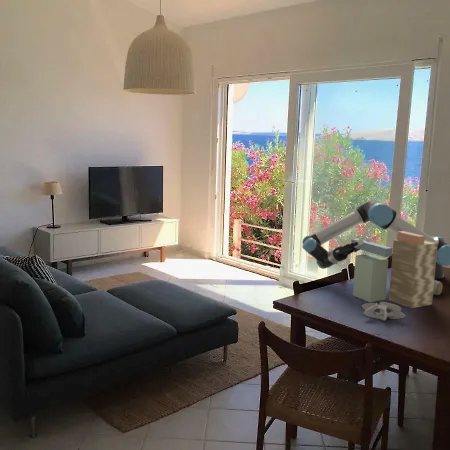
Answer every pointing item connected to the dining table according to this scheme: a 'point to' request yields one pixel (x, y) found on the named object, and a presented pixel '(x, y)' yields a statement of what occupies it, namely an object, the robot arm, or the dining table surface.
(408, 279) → the birch stand
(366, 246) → the slate bar
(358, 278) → the pale green pillar
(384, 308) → the sculpture
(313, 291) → the dining table surface
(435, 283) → the ceramic mug
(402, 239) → the terracotta bar
